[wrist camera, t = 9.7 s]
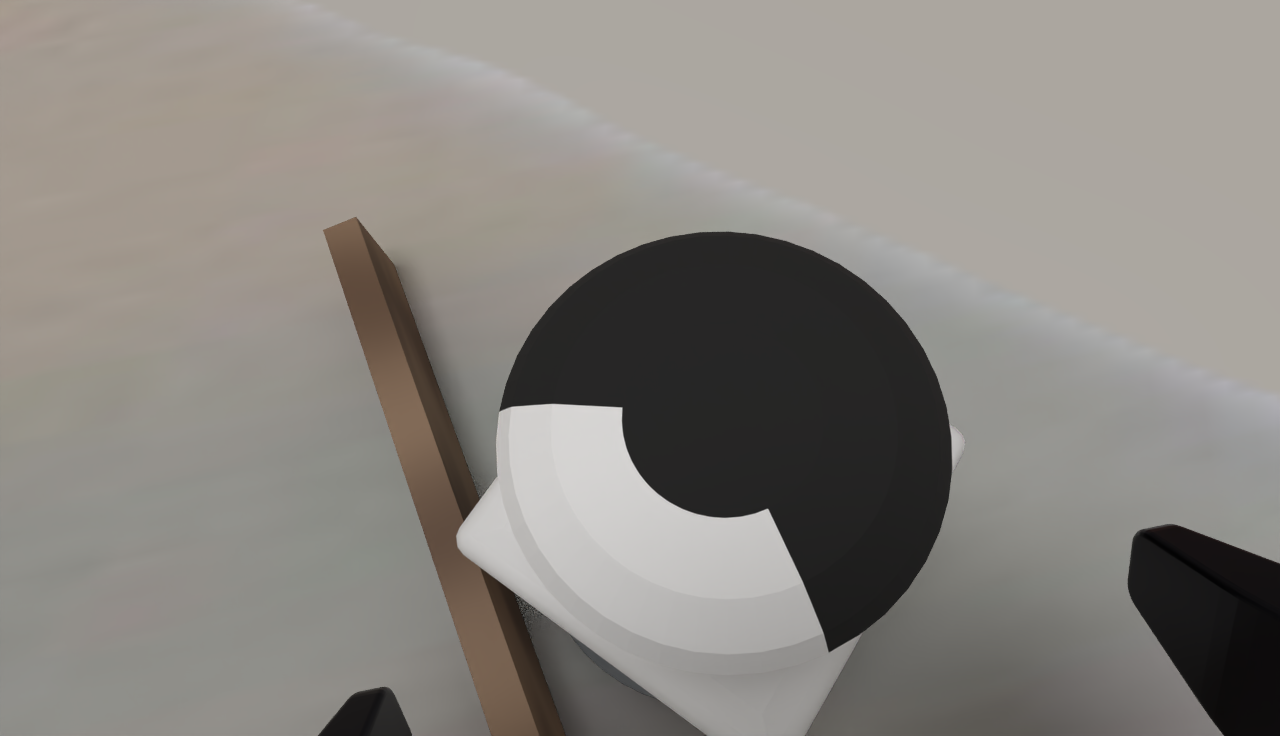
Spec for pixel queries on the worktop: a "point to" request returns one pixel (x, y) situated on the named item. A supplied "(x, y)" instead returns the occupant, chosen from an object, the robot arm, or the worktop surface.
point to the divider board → (441, 489)
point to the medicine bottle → (718, 473)
